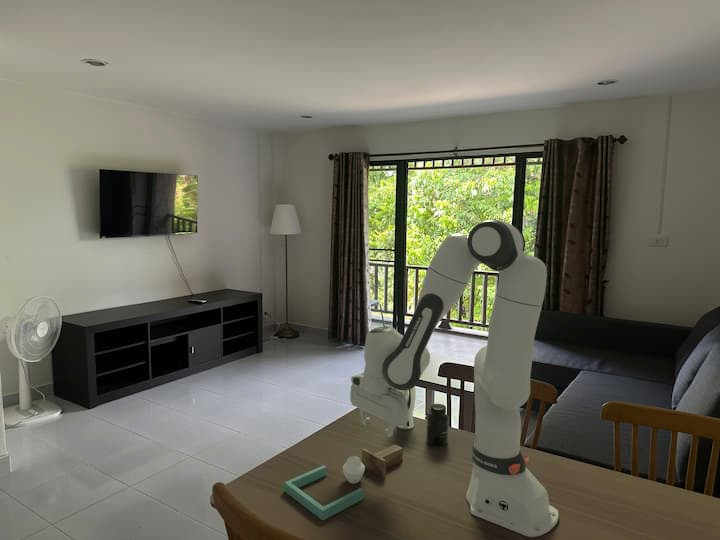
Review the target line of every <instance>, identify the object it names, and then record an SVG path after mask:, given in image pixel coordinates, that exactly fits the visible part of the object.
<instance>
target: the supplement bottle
mask: <svg viewBox="0 0 720 540" xmlns="http://www.w3.org/2000/svg"><path fill="white" fill-rule="evenodd" d="M429 410H430V412H429V413H428V414H427V418H426V442H427V444H429V445H431V446H432V447H433V446H434V447H444V446H446V445H448V443H449V425H450V424H449V420H450V418H449V415H448V414H447V407H446V405H445V404H441V403H433V404H430V409H429Z"/></svg>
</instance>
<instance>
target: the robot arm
mask: <svg viewBox="0 0 720 540" xmlns="http://www.w3.org/2000/svg"><path fill="white" fill-rule="evenodd" d="M524 236H525V235H524V234H523V232H522V231H521V229H519V227H516V226H515V225H513V224H511V223H510V222H507V221H503V220H496V219H485V220H483V221H480V222H478V223H476V225H474V226H473V227H472V228H471V230H470V232H469V234H468V235H467V234H464V233H457V232H456V233H455V232H454V233H450V234H448V235H447V236H446V237H445V238H444V239H443V241H442V242H441V244H440V245H439V247H438V249H437V250H436V252H435V253H434V256H433V258H432V259H431V262H430V263H429V266H428V268H427V270H426V273H425V276H424V279H423V282H422V285H421V289H420V293H419V297H418V299H417V303H416V305H415V309H414V312H413V315H412V317H411V320H410V321H409V323H408V325H407V328H406V330H405V332H404V334H401V333H400V332H399V331H397V329H395V327H392V326H388V325H385V326H378V327H375V328H373V329H371V330H370V331H368V333H367V334H366V337H365V343H364V357H363V358H364V361H365V362H364V363H365V365H364V369H363V373H358V374H355V375H352V376H351V377H350V382H351V383H352V384H351V386H350V395H349V397H350V398H349V399H350V403H351V405H352V406H354V407H356V408H358V409H359V413H360V414H359V415H360V416H361V424H363V425H365V426H368V425H370V423H371V422H370V421H371V418H370V417H369V416H368V415H369V414H370V415H372V416H374V417H376V418H377V419H378V418H379V419H380V420H383V421H385V422H387V426H388V428H386V429H384V435H385V436H386V437H387V438H388V437H389V438H390V437H391V438H392V437H393V435H394V429H395V428H398V427H399V426H402V425H404V424H406V423H407V421H408V413H407V403H406V398H405V396H404V395H403V393H402V392H400V391H397V390H396V389H398V390H409V389H412V388H413V387H415V388H416V386H417V384H418V383H419V381H420V379H421V377H422V375H424V374H423V373H424V372H426V369H427V368H428V366H429V365H430V361H431V355H430V351H429V349H428V348H427V346H428V344H429V341H430V339H431V337H432V336H433V333H434V331H435V329H436V327H437V326H438V325H439V323H440V322H441V320H442V319H443V318H444V317H445V316H446V315H447V314H448V313H449V312H450V311H451V309H453V308H454V307H455V305H456V304H457V303H458V301H459V300H460V299H461V297H462V296H463V294H464V292H465V291H466V289H467V286H468V284H469V282H470V280H471V278H472V276H473V273H474V272H475V270H476V269H477V268H478V267H479V266H480V265H482V264H483V265H484V266H485V267H488V268H489V269H491V270H492V271H494V272H498V277H499V278H498V284H497V288H496V292H495V297H494V301H493V305H492V310H491V313H490V317H489V321H488V327H487V328H488V332H487V333H488V335H487V343H486V345H485V346H482V347H481V348H480V349H478V351H477V352H476V354H475V358H474V362H473V363H474V364H473V381H474V382H473V383H474V385H473V386H474V387H473V388H474V409H475V410H474V411H475V420H474V421H475V424H474V425H475V426H474V442H473V444H472V455H471V459H472V462H473V463H472V471H471V476H470V481H469V486H468V488H467V491H466V494H465V498H466V501H467V502H468V504H469V506H470V513H471V515H472V516H476V517H477V518H480V519H483V520H485V521H487V522H490V523H493V524H494V525H495V524H496V525H498V526H500V527H503V528H506V529H507V530H510V531H512V532H516V533H518V534H520V535H522V536H525V537H528V538H536V537H540V536H543V535H544V534H545V535H546V534H547V533H548V532H550V531H551V530H552V529H553V528H554V527H556V525H557V523H558V522H559V510H558V509H557V508H555V507H554V506H553V505H550V501H549V500H550V499H549V495H548V491H547V489H546V488H545V487H544V486H543V484H541V482H539V480H538V479H537V478H536V476H535V475H533V473H532V472H531V471H530V470H529V469H528V468H527V467H526V466H527V465H526V464H528V462H529V461H530V460H529V459H530V456H527V457H526V458H524V456H523V453H522V451H521V432H522V431H521V429H522V418H521V414H520V413H521V412H520V407H522V406H523V405H525V404H526V402H528V399H529V398H530V395H531V374H532V365H533V353H534V344H535V343H534V341H535V337H536V331H537V328H538V323H539V320H540V316H541V312H542V308H543V303H544V299H545V294H546V288H547V287H546V286H547V277H548V275H547V274H548V273H547V266H546V264H545V263H544V262H543V260H541V259H540V258H538V257H536V256H534V255H531V254H527V253H525V250H526V240H525V237H524Z"/></svg>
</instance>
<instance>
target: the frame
mask: <svg viewBox="0 0 720 540" xmlns="http://www.w3.org/2000/svg"><path fill="white" fill-rule="evenodd" d="M327 471H328V470H327V466H326V465H324V464H323V465H321V466H319V467H317V468H315V469H312V470H310V471H307V472H306V473H303V474H301V475H298V476H296V477H293V478H291V479H290V480H287V481H284V482H283V484H284V485H283V486H284V489H283V490H284V492H285V493H286V494H287V495H288V496H289V497H291V498H293V500H294V501H295V500H296V501H297V502H298V503H299V504H300V505H301V506H303V507H305V508H306V510H308V511H309V512H311V513H312V514H313V515H314V516H316V517H317V518H318V519H320V520H321V521H325V520H327V519H328V518H330V517H332V516H334V515H336V514H338V513H340V512H342V511H344V510H345V509H347V508H349V507H351V506H353V505H355V504H357V503H359V502H360V501H362V500H364V489H362V488H361V487H360V488H357V489H356V490H354V491H352V492H349V493H348V494H347V493H346V495H344V496H342V497H340V498H338V499H335V500H334V501H332V502H330V503H328V504H326V505H324V506H323V505H322V504H321V503H319V502H318V500H317V501H316V500H315V499H314V498H313V497H311V496H310V495H308V494H307V493H306V492H305V491H303V490H301V489H300V488H302V487H304V486H306V485H308V484H310V483H313V482H315V481H317V480H319V479H322V478H323V477H326V476H327V475H328V474H327Z"/></svg>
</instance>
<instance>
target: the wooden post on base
mask: <svg viewBox="0 0 720 540" xmlns="http://www.w3.org/2000/svg"><path fill="white" fill-rule="evenodd" d="M361 451H362V452H361V463H363V464H364V466H365V469H368V470H370V471H371V470H372V471H371V472H373V473H375V474H377V475H378V476H380V477H382V478H386V477H387V469H389V468H391V467H392V466H394V465H396V464H398V463H400V462H402V461H403V451H404V450H403V447H401V446H400V445H397V444H393V445H391V446H389V447H386V448H385V449H383V450H380V451H378V452H376V453H374V452H372V451H370V450H368V449H366V448H362V449H361Z"/></svg>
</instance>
